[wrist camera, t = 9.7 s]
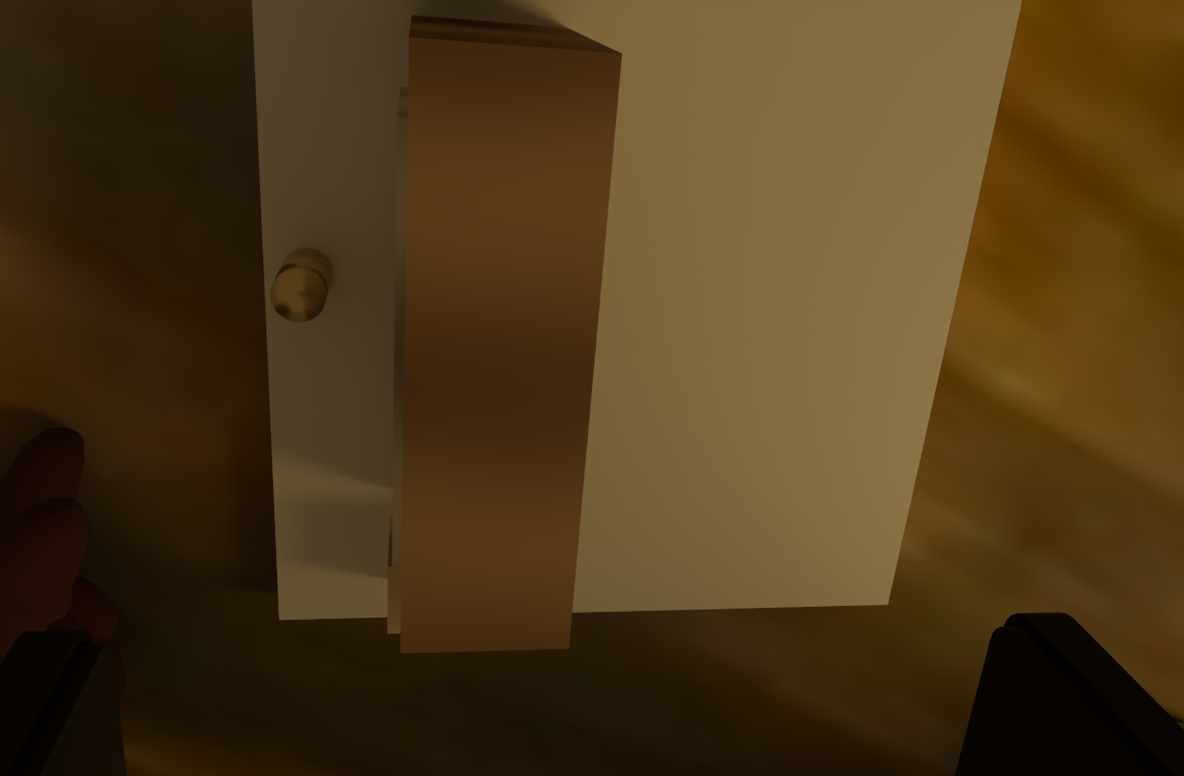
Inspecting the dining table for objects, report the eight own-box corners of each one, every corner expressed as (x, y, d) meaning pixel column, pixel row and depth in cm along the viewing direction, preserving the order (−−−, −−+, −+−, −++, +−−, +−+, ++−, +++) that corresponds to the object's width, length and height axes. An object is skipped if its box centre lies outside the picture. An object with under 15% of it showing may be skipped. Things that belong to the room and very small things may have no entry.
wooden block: (534, 491, 28) (568, 648, 22) (396, 490, 27) (390, 653, 21) (566, 27, 23) (622, 53, 17) (402, 14, 23) (396, 36, 16)
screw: (332, 296, 25) (326, 323, 23) (282, 295, 25) (271, 321, 23) (331, 248, 24) (325, 271, 23) (280, 246, 24) (269, 270, 22)
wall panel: (872, 582, 32) (887, 604, 31) (284, 595, 29) (279, 619, 28) (1020, -115, 25) (1048, -119, 24) (251, -198, 22) (242, -207, 21)
